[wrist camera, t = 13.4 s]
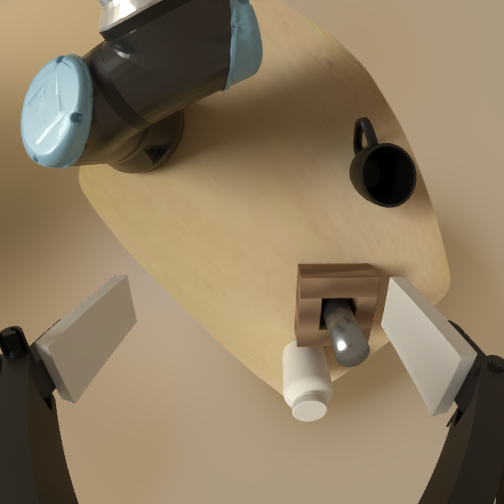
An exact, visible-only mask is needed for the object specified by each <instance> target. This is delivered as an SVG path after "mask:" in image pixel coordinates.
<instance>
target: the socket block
mask: <svg viewBox="0 0 504 504" xmlns="http://www.w3.org/2000/svg"><path fill="white" fill-rule="evenodd" d="M379 282H380V276H379V275H378V274H377V273H376V272H375V271H374V270H373V269H372V267H371V266H370V265H369V264H298V271H297V294H296V312H295V335H296V343H297V347H320V346H332V343H331V339H330V336H329V333H328V330H327V326H326V323H325V320H324V317H323V314H322V311H321V304H322V298H346V300H347V302H348V304H349V306H350V308H351V310H352V312H353V314H354V316H355V318H356V320H357V322H358V324H359V326H360V328H361V330H362V332H363V334H364V336H365V338H366V340H367V343H368V340H369V336H370V331H371V326H372V322H373V317H374V311H375V306H376V301H377V295H378V289H379Z"/></svg>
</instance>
